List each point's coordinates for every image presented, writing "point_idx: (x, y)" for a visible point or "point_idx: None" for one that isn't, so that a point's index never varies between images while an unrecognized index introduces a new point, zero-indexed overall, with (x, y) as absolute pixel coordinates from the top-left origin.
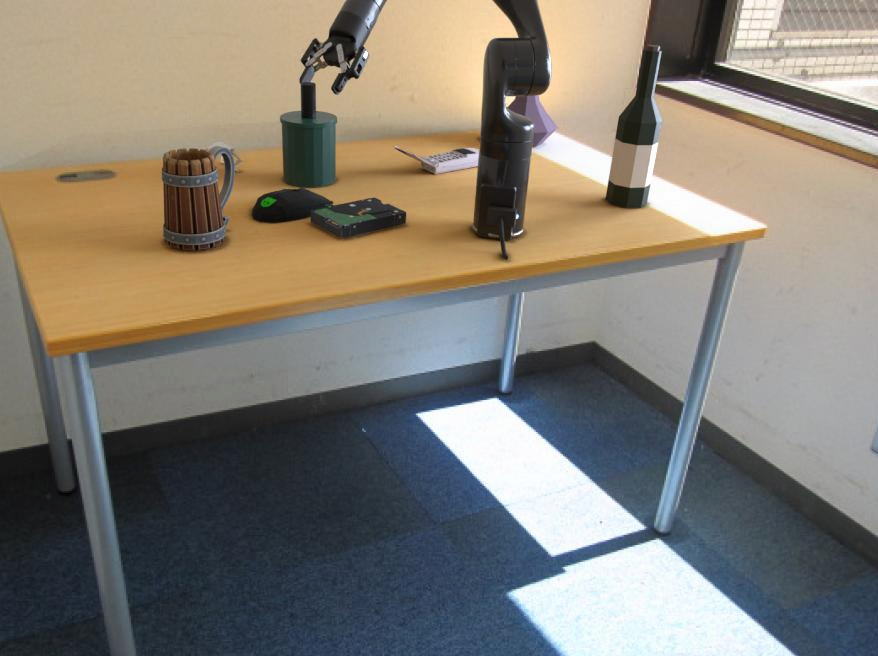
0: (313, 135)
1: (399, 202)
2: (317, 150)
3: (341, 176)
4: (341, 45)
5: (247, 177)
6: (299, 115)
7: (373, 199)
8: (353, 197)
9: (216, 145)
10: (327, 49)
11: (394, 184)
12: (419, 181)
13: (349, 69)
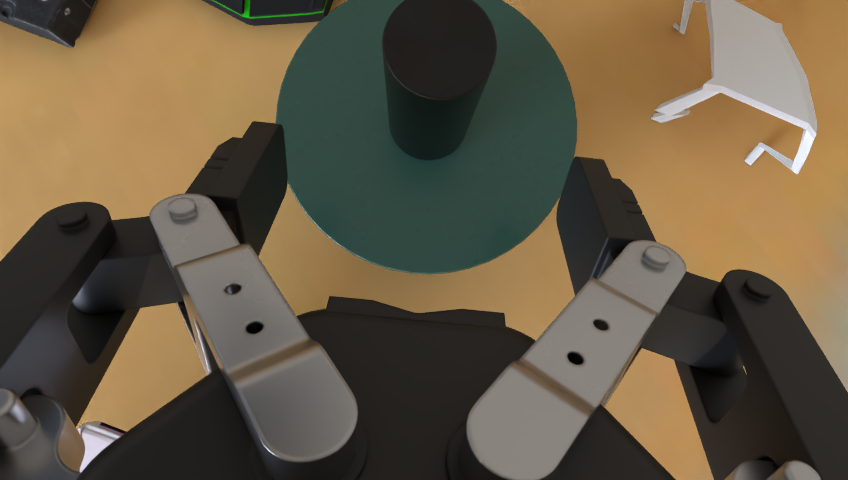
0: None
1: (48, 165)
2: None
3: (356, 285)
4: (264, 433)
5: (590, 87)
6: (483, 117)
7: (39, 10)
8: (198, 120)
9: (781, 74)
10: (507, 373)
11: (157, 322)
12: (100, 409)
13: (107, 217)
